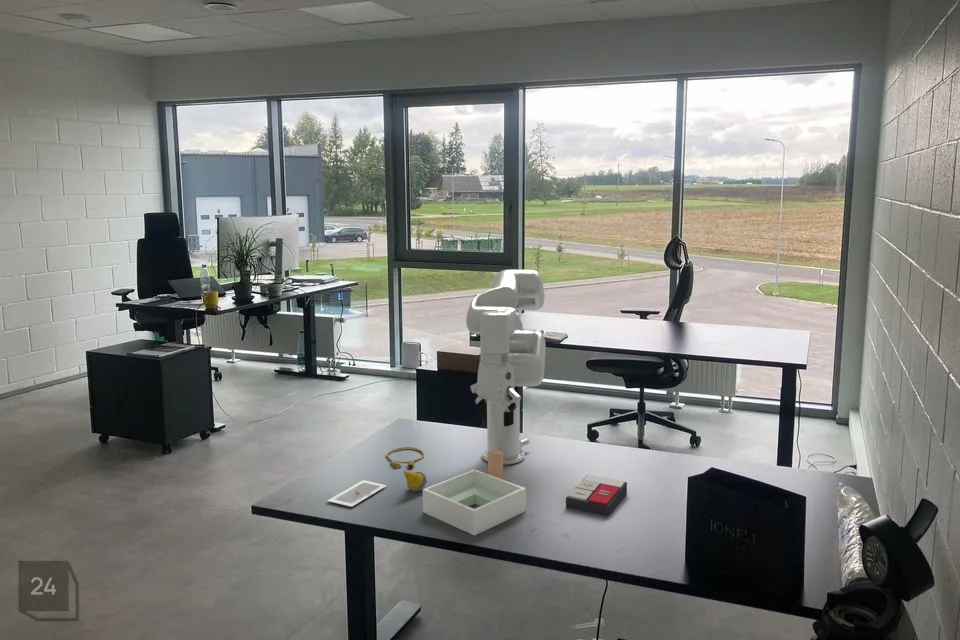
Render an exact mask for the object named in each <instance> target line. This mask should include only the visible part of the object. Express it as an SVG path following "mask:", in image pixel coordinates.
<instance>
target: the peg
mask: <svg viewBox="0 0 960 640" xmlns="http://www.w3.org/2000/svg"><path fill="white" fill-rule="evenodd" d="M487 469H488V470H487V474H489V475H492V476H494V477H497V478H500V479H502V480H504V465H503V452H502V451H500V450H491V451H489V452H488V462H487Z"/></svg>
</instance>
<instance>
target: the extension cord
mask: <svg viewBox="0 0 960 640" xmlns="http://www.w3.org/2000/svg"><path fill="white" fill-rule="evenodd" d="M405 450H408V451H415V452H419V453H420V454H421V455H422V456H421V457H419V458H417V459H409V461H397V460H395V459H391V458H390V457H389V455H391V454H393V453H396V452H399V451H405ZM424 458H425V453H424V452H423V450H422V449H419V448H415V447H412V446H411V447H409V446H406V447H399V448H395V449H392V450H389V452H387V453H386V455H385V459H386V460H387V461H389V462H390V464H391V466H392V467H393V468H394V469H399V468H402V466H401V464H407V468H408V469H414V467H415V463H417V462H419V461H420V460H423V459H424Z"/></svg>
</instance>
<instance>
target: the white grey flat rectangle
mask: <svg viewBox="0 0 960 640" xmlns="http://www.w3.org/2000/svg"><path fill="white" fill-rule="evenodd" d="M385 487H387V484H381V483H378V482H373V481H368V480H363V479H362V480H361V481H359V482H358V483H355V484H354V485H352V486H350V487H349V488H347V489H345V490H343V491H342V492H339V493H338V494H336V495H334V496H333V497H331V498H329V499H328V500H327V502H331V503H335V504H338V505H343V506H347V507H351V508H352V507H354V506H356V505H357V504H359V503H361V502H362V501H363V500H365V499H367V498H369V497H370V496H372V495H374V494H376V493H377V492H378V491H380V490H382V489H383V488H385Z"/></svg>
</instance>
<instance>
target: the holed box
mask: <svg viewBox="0 0 960 640" xmlns="http://www.w3.org/2000/svg"><path fill="white" fill-rule="evenodd" d="M473 505H477V506H478V507H476V508H473V507H470V506H473ZM526 511H527V488H526V487H525V486H521V485H518V484H516V483H513V482H510V481H507V480H505V479H503V480H502V479H500V478H497V477H494V476H492V475H489V474H488V473H487V472H483V471H481V470H477V469H471V470H469V471H466V472H464V473H461V474H458V475H456V476H453V477H450V478H448V479H446V480H443V481H440V482H438V483H435V484H432V485H430V486H427V487H424V488H423V489H422V513H424V514H425V515H428V516H431V517H433V518H436V520H439V521H441V522H443V523H446V524H448V525H450V526H452V527H454V528H457V529H459V530H461V531H464V532H465V533H468V534H470V535H472V536H477V535H479V534H481V533H483V532H485V531H487V530H489V529H491V528H493V527H496V526H498V525H501V524H502V523H504V522H506V521H509V520H510V519H512V518H514V517H516V516H518V515H521V514H523V513H525V512H526Z"/></svg>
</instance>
